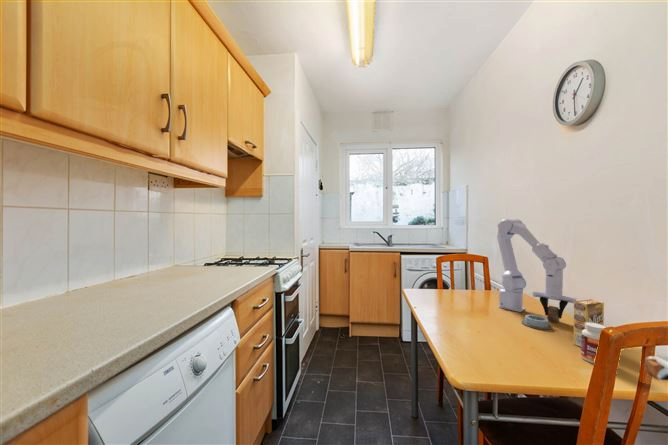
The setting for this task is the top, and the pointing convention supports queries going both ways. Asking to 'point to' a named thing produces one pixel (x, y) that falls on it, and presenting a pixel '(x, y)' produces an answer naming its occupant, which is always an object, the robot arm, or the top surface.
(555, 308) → the walnut peg
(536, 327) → the collar socket
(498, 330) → the top surface
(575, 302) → the candy box
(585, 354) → the pill bottle
